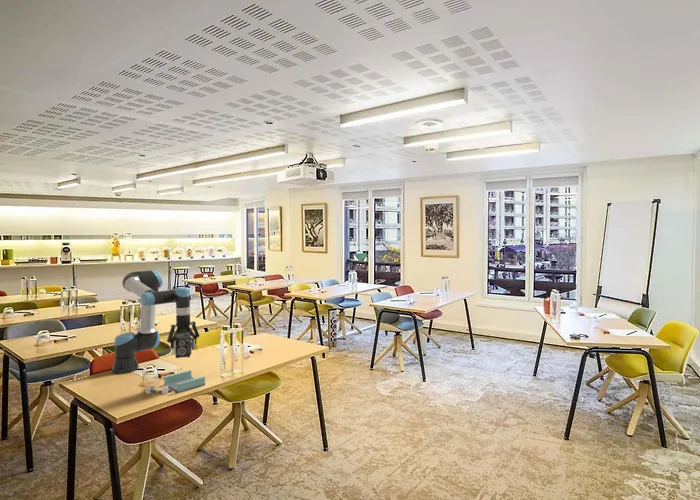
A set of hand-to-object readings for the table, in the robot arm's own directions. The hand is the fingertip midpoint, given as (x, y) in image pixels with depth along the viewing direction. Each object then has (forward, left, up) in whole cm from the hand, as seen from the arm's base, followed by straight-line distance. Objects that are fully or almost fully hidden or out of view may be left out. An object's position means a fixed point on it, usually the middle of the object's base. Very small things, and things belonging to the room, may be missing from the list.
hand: (183, 351), depth 246 cm
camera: (0, 0, -3) cm, 3 cm away
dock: (0, 0, -20) cm, 20 cm away
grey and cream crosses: (-2, -14, -20) cm, 25 cm away
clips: (0, -15, -20) cm, 25 cm away
